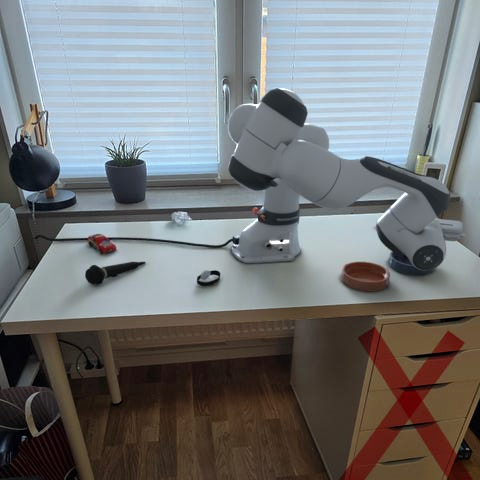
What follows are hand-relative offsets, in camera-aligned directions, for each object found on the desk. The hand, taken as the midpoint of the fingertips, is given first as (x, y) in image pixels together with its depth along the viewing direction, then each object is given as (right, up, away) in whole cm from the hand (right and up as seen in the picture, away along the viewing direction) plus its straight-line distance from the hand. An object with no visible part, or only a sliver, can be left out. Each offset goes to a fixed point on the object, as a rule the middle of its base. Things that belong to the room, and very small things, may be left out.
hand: (421, 217), depth 129 cm
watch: (-62, -19, -2) cm, 65 cm away
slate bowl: (0, -13, +8) cm, 15 cm away
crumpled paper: (-75, +7, +38) cm, 85 cm away
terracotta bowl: (-17, -18, -1) cm, 25 cm away
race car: (-98, -6, +17) cm, 100 cm away
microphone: (-88, -17, +1) cm, 90 cm away
